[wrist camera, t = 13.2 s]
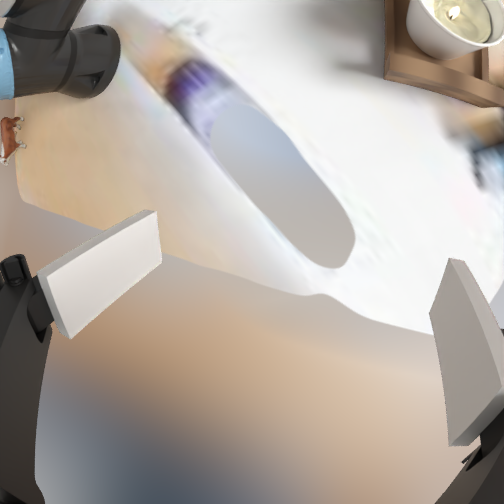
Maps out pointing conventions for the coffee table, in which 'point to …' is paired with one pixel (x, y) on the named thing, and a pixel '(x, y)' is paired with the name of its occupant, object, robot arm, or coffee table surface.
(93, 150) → the coffee table surface
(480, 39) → the candle holder
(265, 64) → the coffee table surface
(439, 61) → the wooden tray
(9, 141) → the bull figurine
